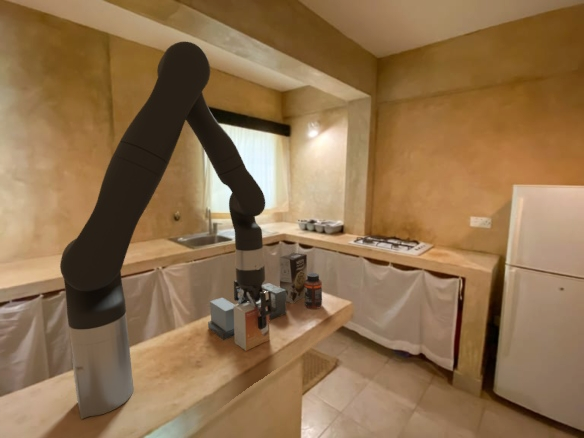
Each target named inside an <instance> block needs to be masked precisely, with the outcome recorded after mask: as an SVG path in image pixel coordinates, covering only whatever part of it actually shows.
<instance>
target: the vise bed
mask: <svg viewBox="0 0 584 438" xmlns="http://www.w3.org/2000/svg"><path fill="white" fill-rule="evenodd" d="M262 288H263V291H265V292H266V291H270V292H271V303H272V313H271V314H269V321H271V320H273V319H276V318H279V317H281V316H283V315H285V314H287V301H286V290H285V289H282V288H280V286H277V285H275V284H272V283H269V282H268V283H265V284H262ZM207 323H208V324H207V325H208V329H209V330H210V331H211V332H213V333H214V334H215V336H218V337H219V338H220V339H221V340H222V341H225V340H227V339H229V338H232V337H235V333H234V329H232V330H229V331H227V332H226V331H225V330H223V329H222V328H221V327H219V326H218V325H217V324H215V323H214V322H213V321H211V320H209V321H208V322H207Z"/></svg>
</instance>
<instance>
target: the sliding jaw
mask: <svg viewBox="0 0 584 438" xmlns="http://www.w3.org/2000/svg"><path fill="white" fill-rule="evenodd" d="M209 303H210V306H209V307H210V321H213V322H214V323H215V324H217V325H218V326H219V327H221V328H222V329H223V330H225V331H226V332H227V331H229V330H232V329H234V306H236V304H234V303H232V302H231V301H229V300H227V299H226V298H224V297H219V298H216V299H213V300H209Z"/></svg>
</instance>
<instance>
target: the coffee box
mask: <svg viewBox="0 0 584 438" xmlns="http://www.w3.org/2000/svg"><path fill="white" fill-rule="evenodd" d="M307 257H308V256H307V254H306V253H299V252H298V253H297V252H293V253H288V254H286V255H283V256H280V257H279V287H280V288H282V289H285V290H286V303H290V304H295V303H297V302H298V301H300V300H301V299H303V298H305V281H306V280H307V274H308V271H307V268H308V264H307V260H308V258H307Z"/></svg>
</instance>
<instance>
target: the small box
mask: <svg viewBox="0 0 584 438" xmlns="http://www.w3.org/2000/svg"><path fill="white" fill-rule="evenodd" d="M260 302H261V300H259V301H258V302H256V303H257V304H258V303H260ZM235 305H236V304H235ZM259 308H260V311H261V306H260V307H259ZM266 308H267V309H268V306H267V307H266ZM266 317H267V326H266V327H265V328H263V329H261V330H260V329H259V328H258V314H257V311H256V309H254V308H253V306H252V304H251V303H250V302H249V301H247V302H246V303H243V304H240V305H238V304H237V305H236V306H234V333H235V336H234V343H235V344H236V345H237V346H239V347H240V348H242V349H243V350H244V351H246V352H247V351H249V350H250V349H253V348H255V347H257V346H259V345H261V344H263V343H265V342H268V341H270V340H271V339H270V338H271V336H270V334H271V333H270V320H269V315H266Z"/></svg>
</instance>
